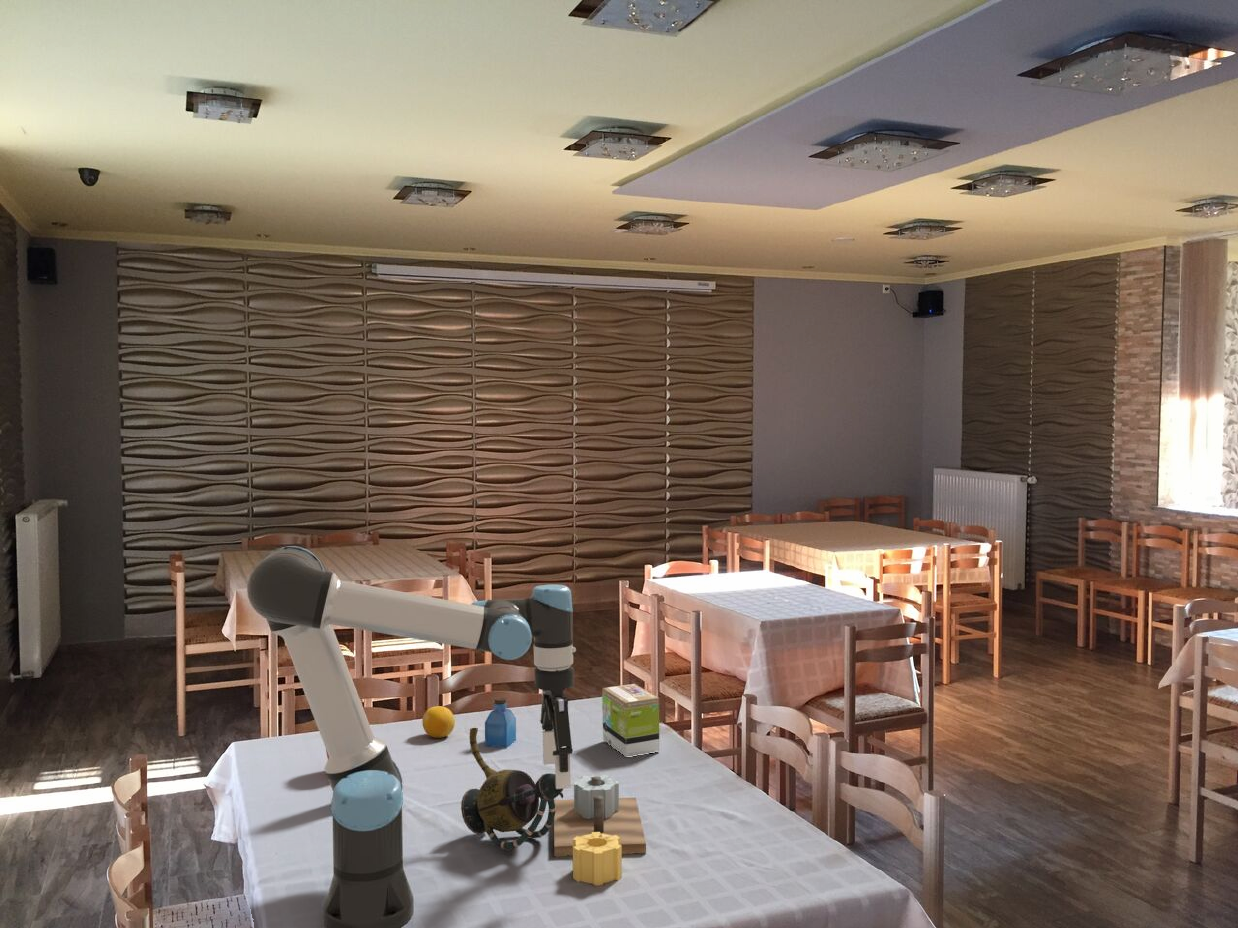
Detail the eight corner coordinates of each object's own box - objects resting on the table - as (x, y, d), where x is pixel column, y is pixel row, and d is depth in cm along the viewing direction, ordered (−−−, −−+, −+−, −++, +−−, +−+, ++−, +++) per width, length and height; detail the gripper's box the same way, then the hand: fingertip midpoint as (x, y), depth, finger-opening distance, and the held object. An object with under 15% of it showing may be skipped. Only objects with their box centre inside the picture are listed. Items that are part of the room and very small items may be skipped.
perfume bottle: (484, 745, 263) (484, 700, 262) (494, 738, 269) (494, 694, 268) (506, 747, 261) (506, 702, 261) (516, 740, 267) (515, 696, 266)
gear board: (646, 853, 197) (645, 808, 197) (554, 856, 196) (554, 811, 196) (635, 806, 221) (635, 766, 221) (554, 808, 220) (553, 768, 220)
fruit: (461, 735, 272) (460, 705, 271) (440, 743, 265) (440, 713, 265) (436, 729, 277) (436, 701, 276) (416, 737, 270) (415, 708, 269)
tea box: (601, 741, 266) (600, 686, 265) (635, 736, 270) (635, 682, 269) (625, 759, 252) (625, 701, 252) (660, 753, 257) (660, 696, 256)
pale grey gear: (626, 812, 213) (626, 784, 212) (590, 822, 208) (590, 793, 207) (602, 798, 220) (601, 771, 220) (566, 807, 215) (566, 780, 215)
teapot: (469, 862, 199) (561, 834, 189) (436, 738, 205) (523, 704, 196) (505, 847, 209) (594, 819, 199) (472, 730, 216) (557, 697, 206)
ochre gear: (622, 884, 184) (622, 852, 184) (573, 886, 184) (573, 853, 183) (619, 861, 194) (619, 831, 193) (572, 863, 193) (572, 832, 193)
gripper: (586, 680, 181) (589, 796, 182) (561, 650, 205) (563, 752, 206) (545, 684, 179) (548, 800, 180) (524, 652, 203) (527, 755, 204)
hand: (556, 775), depth 193 cm, fingers open, 13 cm apart
